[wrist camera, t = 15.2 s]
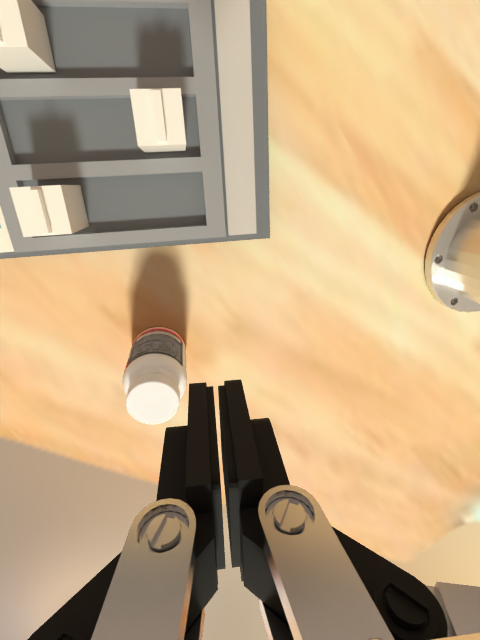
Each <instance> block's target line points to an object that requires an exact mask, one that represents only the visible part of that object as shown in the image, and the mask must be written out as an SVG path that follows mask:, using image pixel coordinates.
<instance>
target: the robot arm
mask: <svg viewBox="0 0 480 640" xmlns="http://www.w3.org/2000/svg"><path fill="white" fill-rule="evenodd" d="M425 277H426V283H427V285H428V288H429V290H430V292H431V293H432V295H433V296H434V298H435V299H436V300H437V301H439V302H440V303H441V304H442V305H444V306H447V307H449V308H451V309H453V310H456V311H459V312H476V311H480V192H478V193H476V194H474V195H472V196H470V197H468V198H466V199H465V200H463V201H462V202H461V203H459V204H458V205H456V206H455V207H454V208H453V209H452V210H451V211H450V212H449V213H448V214H447V215H446V217H445V218H444V219H443V221H442V222H441V223H440V224H439V226H438V228H437V229H436V231H435V233H434V235H433V237H432V239H431V242H430V244H429V247H428V250H427V254H426V259H425ZM218 391H219V410H220V429H221V448H222V462H223V473H224V484H225V495H226V506H227V517H228V528H229V539H230V550H231V561H232V567H240V571H241V579H242V581H244V586H245V587H246V588H248V589H249V590H250V591H251V592H252V593H253V594H255V596H257V597H258V600H259V607H260V611H261V614H262V618H263V621H264V625H265V628H266V632H267V635H268V639H269V640H480V587H476V586H468V585H459V584H450V583H442V582H436V585H435V587H432V586H425V585H424V584H423V583H422V582H420V581H419V580H418V579H416V578H415V577H414V576H412V575H410V574H409V573H407V572H406V571H404V570H402V569H401V568H399V567H397V566H396V565H394V564H392V563H391V562H389V561H388V560H386V559H384V558H383V557H381V556H379V555H378V554H376V553H375V552H373V551H371V550H370V549H368V548H366V547H365V546H363V545H361V544H360V543H358V542H357V541H355V540H353V539H352V538H350V537H348V536H347V535H345V534H343V533H342V532H340V531H338V530H337V529H335V528H334V527H332V526H331V525H330V523H329V521H328V520H327V518H326V516H325V514H324V512H323V511H322V509H321V507H320V505H319V503H318V502H317V501H316V499H315V498H314V497H313V496H312V495H311V494H310V493H308V492H307V491H306V490H304V489H302V488H299V487H297V486H292V485H290V484H289V480H288V477H287V474H286V471H285V467H284V464H283V461H282V458H281V454H280V451H279V448H278V445H277V441H276V438H275V435H274V432H273V429H272V425H271V422H270V420H269V418H263V419H252V420H250V417H249V413H248V408H247V404H246V399H245V395H244V390H243V386H242V382H241V380H230V381H224V386H218ZM218 569H225V552H224V535H223V517H222V500H221V483H220V470H219V457H218V444H217V431H216V418H215V406H214V393H213V386H212V387H206V383H194V384H189V406H188V426H178V427H168V428H166V431H165V438H164V446H163V454H162V461H161V469H160V477H159V485H158V493H157V500H156V502H153V503H151V504H149V505H148V506H147V507H145V508H144V509H142V510H141V512H140V513H139V514H138V515H137V516H136V517H135V519H134V521H133V523H132V525H131V527H130V530H129V533H128V536H127V539H126V542H125V545H124V547H123V550H122V552H121V553H120V554H119V555H117V556H116V557H115V558H114V559H113V560H112V561H111V562H110V563H109V564H108V565H107V566H106V567H105V568H103V569H102V570H101V571H100V572H99V573H98V574H97V575H96V576H95V577H94V578H93V579H92V580H90V582H88V583H87V584H86V585H85V586H84V587H83V588H82V589H81V590H80V591H79V592H78V593H76V594H75V595H74V596H73V597H72V598H71V599H70V600H69V601H68V602H67V603H66V604H65V605H63V606H62V607H61V608H60V609H59V610H58V611H57V612H56V613H55V614H54V615H53V616H52V617H50V619H48V620H47V621H46V622H45V623H44V624H43V625H42V626H41V627H40V628H39V629H38V630H37V631H35V632H34V633H33V634H32V635H31V636H30V638H29V639H28V640H202V637H203V626H204V618H205V606H206V605H207V603H208V602H209V601H210V599H211V598H212V597H213V595H214V594H215V592H216V591H217V590H218V587H217V585H218V577H217V570H218Z"/></svg>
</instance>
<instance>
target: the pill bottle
mask: <svg viewBox="0 0 480 640" xmlns="http://www.w3.org/2000/svg"><path fill="white" fill-rule="evenodd" d="M186 385H187V375H186V348H185V344H184V342H183V340H182V338H181V337H180V336H179V335H178V334H177V333H176V332H175V331H173V330H171V329H168V328H164V327H153V328H149V329H147V330H145V331H143V332H142V333H140V334H139V335H138V336H137V337H136V339H135V340H134V342H133V345H132V348H131V352H130V355H129V358H128V362H127V365H126V368H125V372H124V376H123V388H124V391H125V393H126V395H127V398H126V407H127V410H128V412H129V414H130V415H131V416H132V417H133V418H134V419H136V420H137V421H139V422H141V423H145V424H159V423H163V422H165V421H167V420H169V419H170V418H172V417H173V416H174V415H175V413H176V412H177V410H178V407H179V402H180V398H181V397H182V396H183V394H184V392H185V389H186Z"/></svg>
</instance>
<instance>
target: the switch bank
mask: <svg viewBox="0 0 480 640" xmlns="http://www.w3.org/2000/svg"><path fill="white" fill-rule="evenodd" d="M32 2H33V3H34V4H35V5H36V7H37V8H38V9H39V10H40V12H41V13H42V14H43V15H44V19H45V24H46V28H47V33H48V38H49V42H50V47H51V52H52V56H53V61H54V65H55V70H56V73H7V72H6V71H4V70H2V69H1V68H0V259H4V258H17V257H30V256H43V255H56V254H69V253H82V252H95V251H108V250H121V249H134V248H147V247H160V246H173V245H186V244H199V243H212V242H224V241H237V240H250V239H263V238H270V219H269V154H268V89H267V24H266V0H32ZM160 88H181V96H182V106H183V116H184V126H185V136H186V150H185V151H171V152H146V153H145V152H144V151H143V150H142V149H141V148H139V147H138V143H137V137H136V130H135V123H134V116H133V110H132V103H131V96H130V90H129V89H160ZM50 185H80V186H81V191H82V195H83V200H84V205H85V209H86V214H87V218H88V223H89V226H88V227H86V228H84V229H82V230H80V231H77V232H75V233H73V234H62V235H48V236H34V237H23V234H22V230H21V227H20V223H19V220H18V217H17V213H16V210H15V206H14V203H13V199H12V196H11V193H10V189H9V188H11V187H30V186H50Z"/></svg>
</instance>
